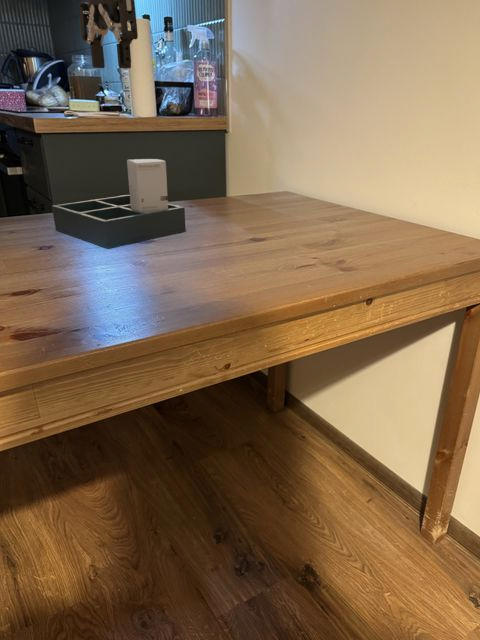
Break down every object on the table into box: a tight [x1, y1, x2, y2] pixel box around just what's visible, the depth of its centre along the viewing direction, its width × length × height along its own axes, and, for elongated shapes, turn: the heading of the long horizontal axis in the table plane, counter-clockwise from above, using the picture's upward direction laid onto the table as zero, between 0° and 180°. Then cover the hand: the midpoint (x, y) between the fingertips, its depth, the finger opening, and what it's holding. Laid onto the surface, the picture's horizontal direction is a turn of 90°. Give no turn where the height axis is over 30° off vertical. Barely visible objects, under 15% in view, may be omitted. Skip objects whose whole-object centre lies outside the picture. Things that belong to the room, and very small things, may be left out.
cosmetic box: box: [126, 158, 169, 213], centre depth 93 cm, size 6×4×12 cm
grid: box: [51, 194, 187, 249], centre depth 94 cm, size 17×17×5 cm
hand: (111, 68), depth 92 cm, fingers open, 8 cm apart
